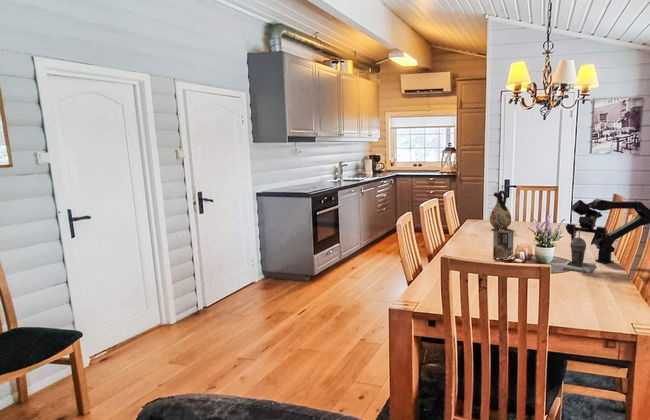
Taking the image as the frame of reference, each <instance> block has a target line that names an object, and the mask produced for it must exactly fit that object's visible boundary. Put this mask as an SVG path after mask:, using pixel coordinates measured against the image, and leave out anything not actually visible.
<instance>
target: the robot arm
mask: <svg viewBox="0 0 650 420" xmlns="http://www.w3.org/2000/svg"><path fill="white" fill-rule="evenodd" d="M614 209H616V210H618V209H620V210H624V209H625V210H627V209H629V210H630V209H632V210H633V209H634V211H635V212H636V215H635V217H634V218H633V219H632V220H629V221H628V222H626V223H625V224H623V225H621V226H619V227H618V228H616V229H614V230H613V231H611V232H608V231H607V228H606V227H603V226H597V227H596V223H597V219H599V218H601V217H603V214H602V212H603V211H609V210H614ZM570 210H571V211H572V212H574V213H576V214H578V215H579V219H578V223H579V226H577V225H576V224H573V223H567V224H566V225H565V228H566V231H567V234H569V235H570V239H571V241H572V240H573V239H574V238H576V237H577V232H579V230H580V232H581V233H582V232H584V233H589V234H593V237H592V240H591V242H590V245H591V246H593V245H594V246H596V249H598V253H597V255H598V256H597V259H595V260H594V261H595V262H598V263H603V264H611V263H614V261H615V260H612V253H614V252H615V250H616V248H615V247H614V246H613V244H615V242H616V240H618V239H620V238H622V237H623V236H625V235H627V234H629V233H630V232H632V231H635V230H636V229H638V228H639V227H641V226H646V225H650V208H648V206H646V205H645V204H644V203H643V202H642V201H639V200H633V201H632V200H625V201H624V200H622V201H621V200H616V201H615V200H606V199H601V198H595V199H593V200H592V201H591V202H588V203H585V202H584V201H583V200H581V199H578V200H577V201H576V202H575V203H574V204H572V205H571V208H570Z"/></svg>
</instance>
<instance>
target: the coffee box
mask: <svg viewBox="0 0 650 420" xmlns="http://www.w3.org/2000/svg"><path fill="white" fill-rule="evenodd" d="M492 233H493V236H492V237H493V238H492V239H493V240H492V241H493V242H492V243H493V245H492V246H493V247H492V248H493V252H492V259H493V258H499V259H506V258H508V257H509V256H511V255H512V254H513V255H514V231H512V230H494V231H492Z"/></svg>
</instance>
